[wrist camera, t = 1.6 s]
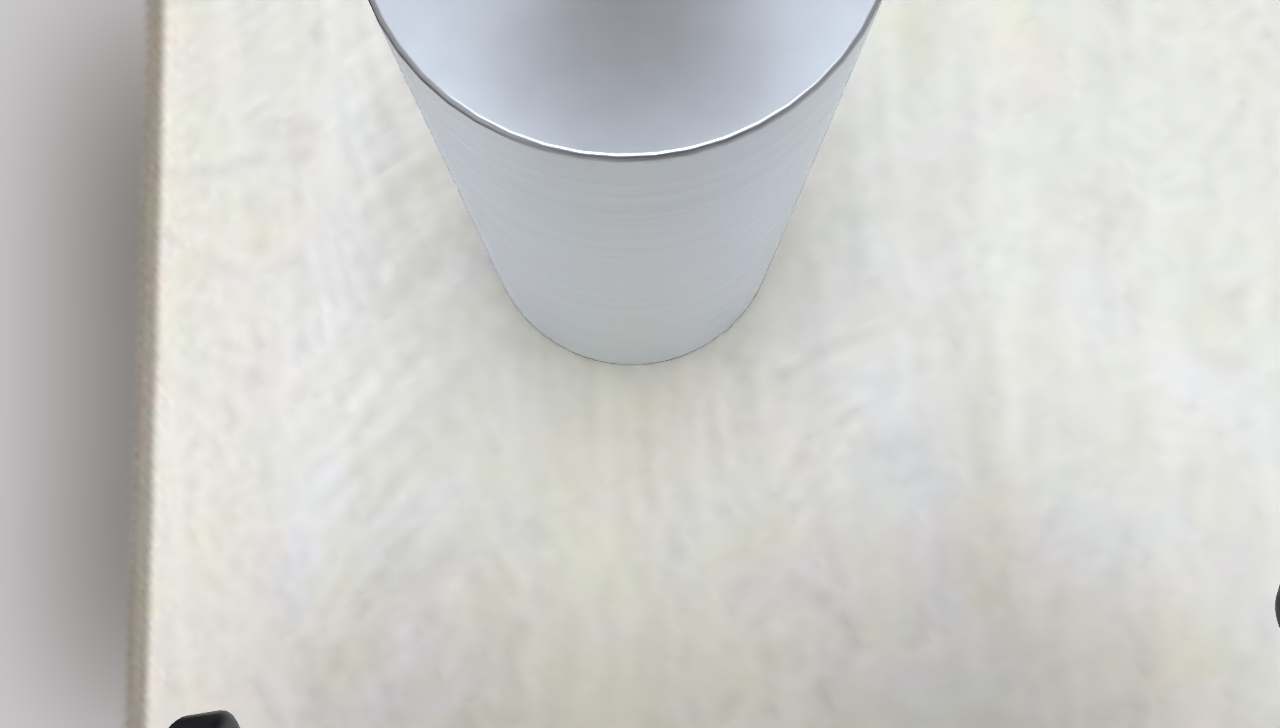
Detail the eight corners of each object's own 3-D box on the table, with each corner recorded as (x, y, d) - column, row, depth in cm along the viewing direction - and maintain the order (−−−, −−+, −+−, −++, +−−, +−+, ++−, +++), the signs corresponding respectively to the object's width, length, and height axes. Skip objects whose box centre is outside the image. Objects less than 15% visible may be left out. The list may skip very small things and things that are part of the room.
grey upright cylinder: (705, 411, 23) (772, 248, 12) (443, 296, 24) (252, 28, 12) (816, 158, 24) (981, -229, 13) (562, 51, 25) (493, -417, 13)
